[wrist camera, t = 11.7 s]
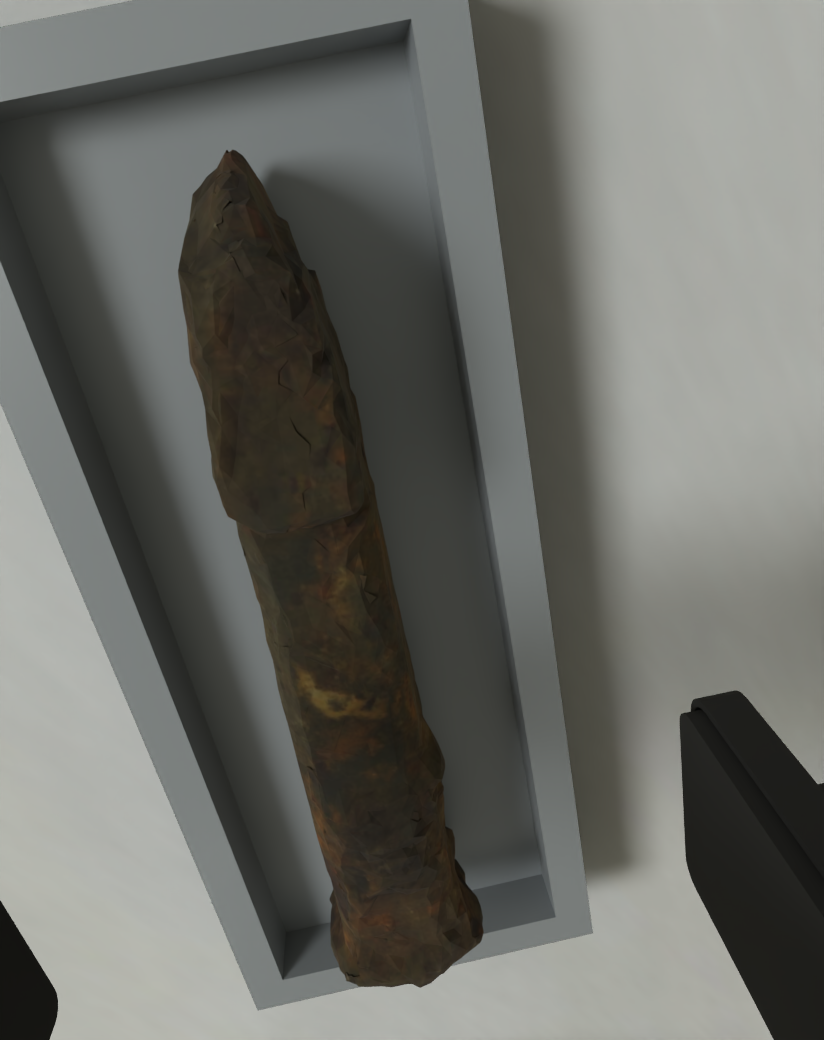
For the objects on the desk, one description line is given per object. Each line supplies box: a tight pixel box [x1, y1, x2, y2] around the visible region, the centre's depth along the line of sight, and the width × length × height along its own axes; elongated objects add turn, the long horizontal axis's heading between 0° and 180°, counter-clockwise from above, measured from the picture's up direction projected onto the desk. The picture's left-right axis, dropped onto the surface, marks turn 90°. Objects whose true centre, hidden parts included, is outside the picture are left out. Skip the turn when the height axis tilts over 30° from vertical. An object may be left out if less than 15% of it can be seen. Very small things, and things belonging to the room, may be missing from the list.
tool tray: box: [0, 0, 593, 1010], centre depth 17 cm, size 10×24×2 cm, turn 11°
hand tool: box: [178, 150, 484, 987], centre depth 16 cm, size 19×4×5 cm, turn 6°
